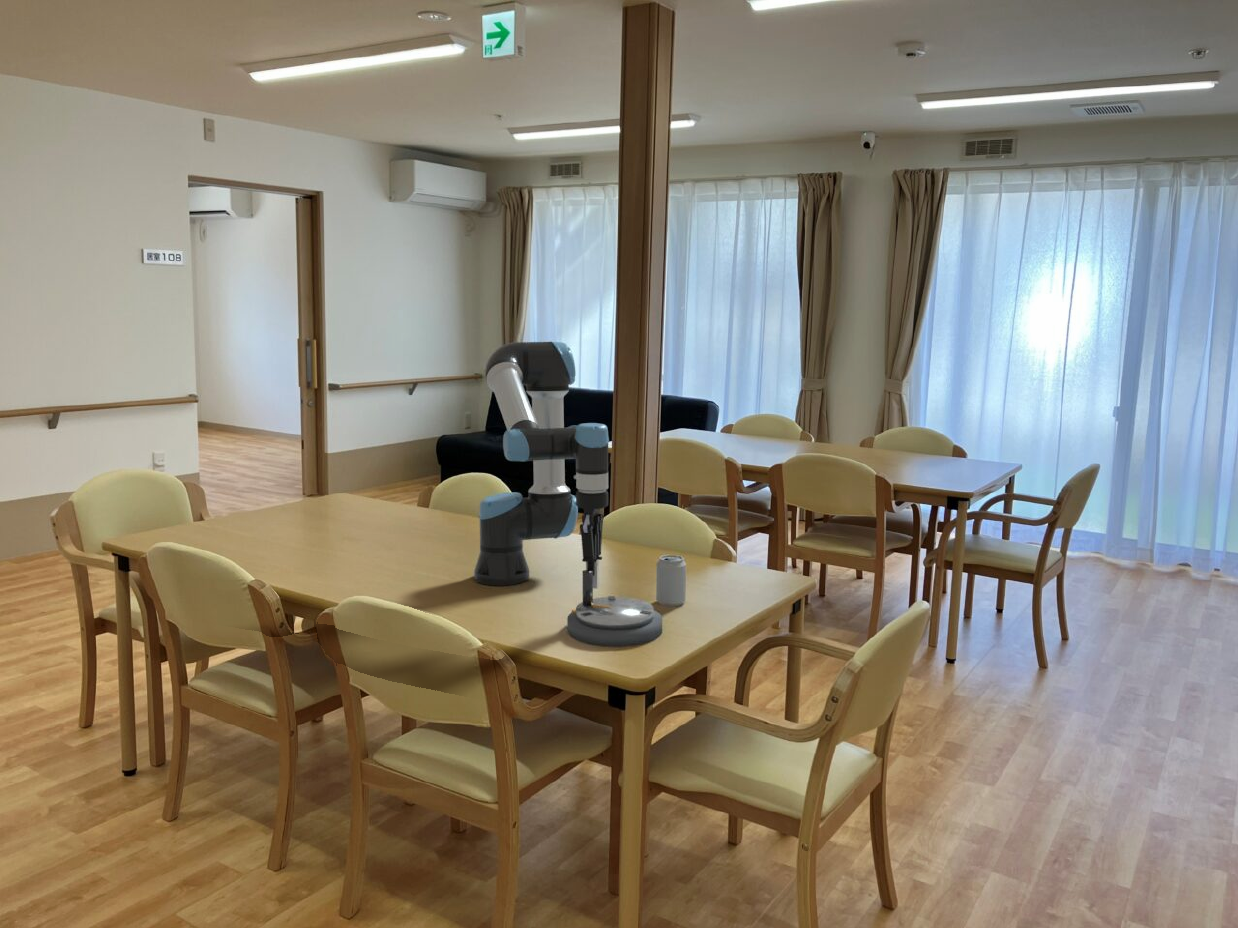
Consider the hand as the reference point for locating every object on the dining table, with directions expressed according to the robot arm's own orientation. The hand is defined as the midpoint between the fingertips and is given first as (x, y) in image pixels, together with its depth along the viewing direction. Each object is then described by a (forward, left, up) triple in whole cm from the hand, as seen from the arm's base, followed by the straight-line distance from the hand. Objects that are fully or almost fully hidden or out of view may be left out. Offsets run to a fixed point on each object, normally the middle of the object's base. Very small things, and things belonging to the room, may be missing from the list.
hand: (592, 587), depth 229 cm
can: (+21, +12, -9) cm, 26 cm away
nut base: (+4, -7, -8) cm, 12 cm away
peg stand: (+4, -7, -5) cm, 10 cm away
